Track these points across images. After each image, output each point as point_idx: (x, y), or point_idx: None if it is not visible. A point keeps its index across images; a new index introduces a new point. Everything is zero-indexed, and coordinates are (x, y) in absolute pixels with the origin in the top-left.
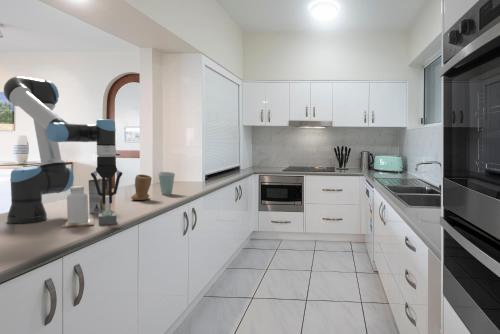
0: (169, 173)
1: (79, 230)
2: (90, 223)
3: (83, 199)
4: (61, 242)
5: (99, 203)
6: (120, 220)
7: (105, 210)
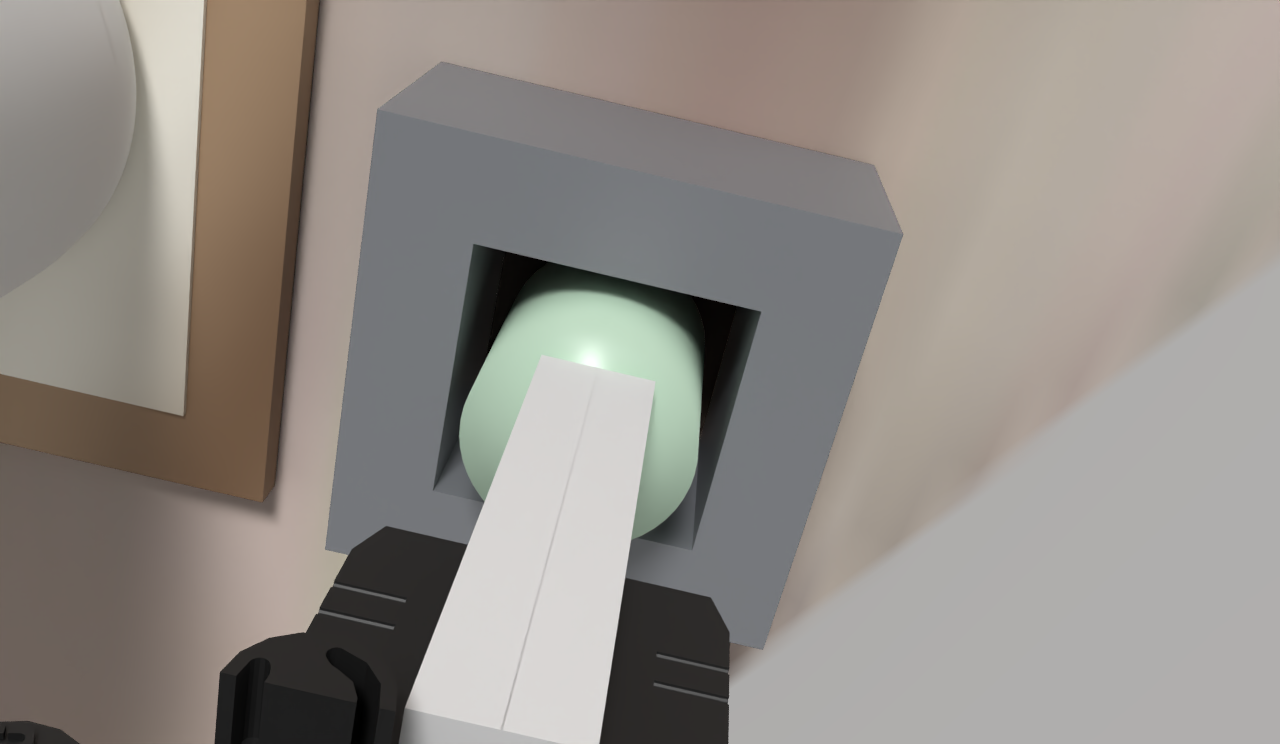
0: None
1: (13, 701)
2: (203, 362)
3: None
4: None
5: None
6: (994, 195)
7: (536, 372)
